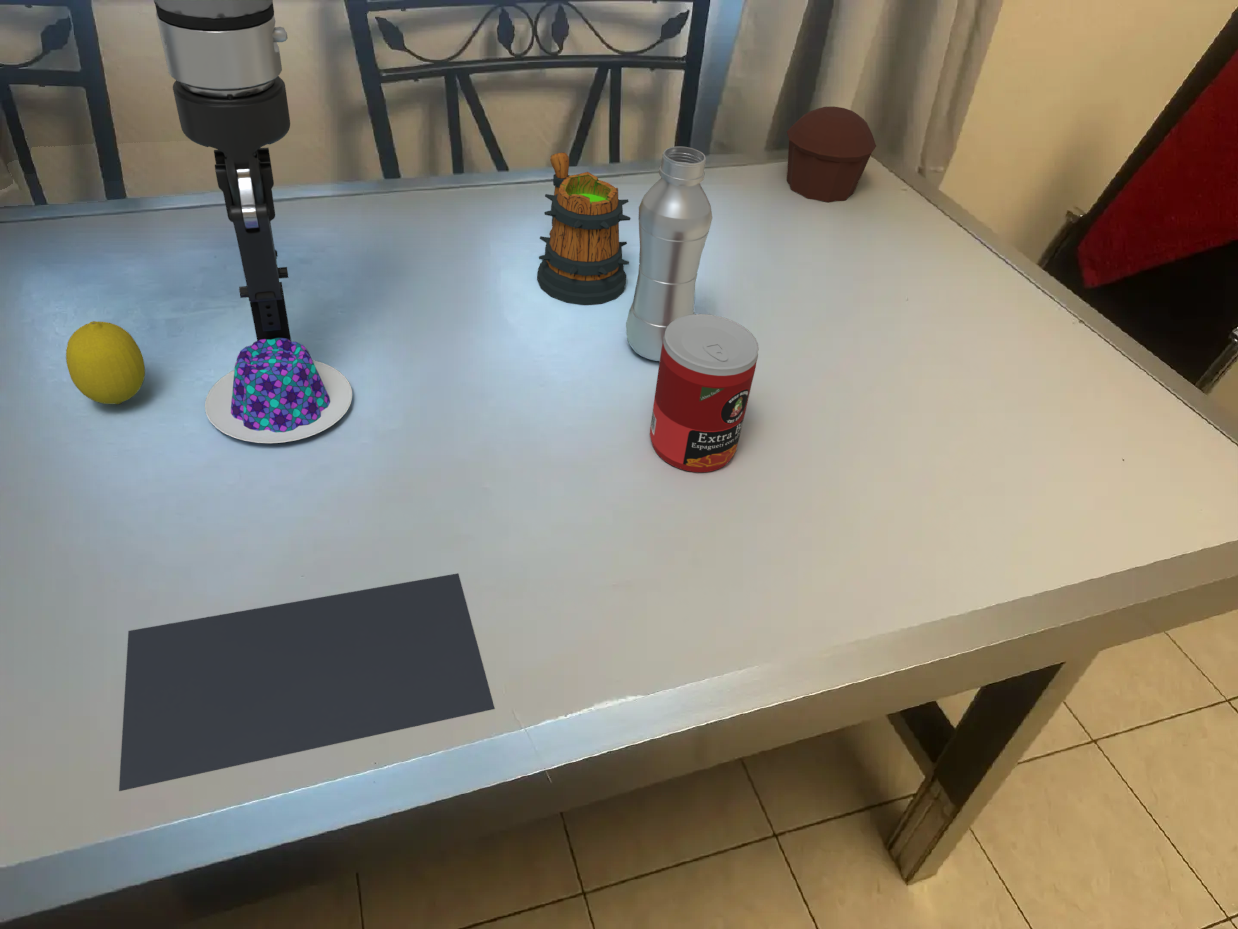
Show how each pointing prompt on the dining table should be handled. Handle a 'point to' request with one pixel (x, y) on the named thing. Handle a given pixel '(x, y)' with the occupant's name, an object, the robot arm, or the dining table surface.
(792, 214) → the dining table surface
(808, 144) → the muffin
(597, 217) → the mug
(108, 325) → the lemon
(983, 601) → the dining table surface
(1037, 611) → the dining table surface
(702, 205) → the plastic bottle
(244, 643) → the dark gray placemat
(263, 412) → the pudding
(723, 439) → the canned food
